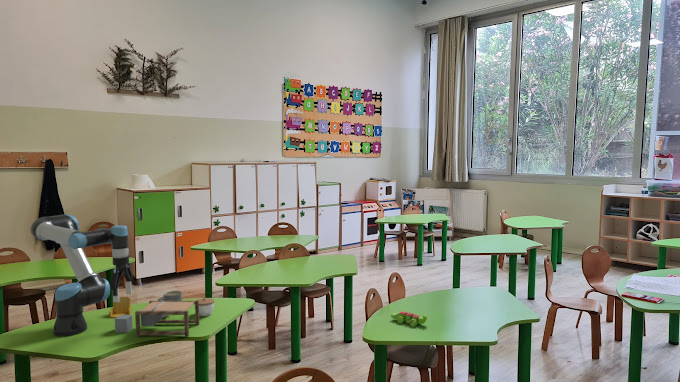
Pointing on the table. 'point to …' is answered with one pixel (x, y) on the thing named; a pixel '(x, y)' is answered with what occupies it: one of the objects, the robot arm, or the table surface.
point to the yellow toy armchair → (121, 308)
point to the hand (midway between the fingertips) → (122, 298)
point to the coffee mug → (171, 296)
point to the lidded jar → (205, 306)
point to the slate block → (123, 323)
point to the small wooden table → (162, 306)
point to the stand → (185, 321)
